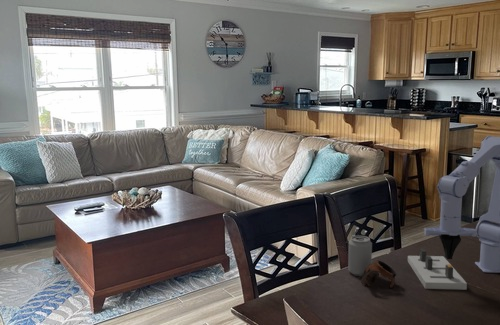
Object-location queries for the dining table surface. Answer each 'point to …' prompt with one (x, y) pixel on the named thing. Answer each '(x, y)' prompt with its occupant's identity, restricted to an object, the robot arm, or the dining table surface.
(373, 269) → the pottery mug
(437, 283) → the breaker panel
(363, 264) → the can
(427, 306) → the dining table surface
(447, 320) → the dining table surface
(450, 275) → the handle
